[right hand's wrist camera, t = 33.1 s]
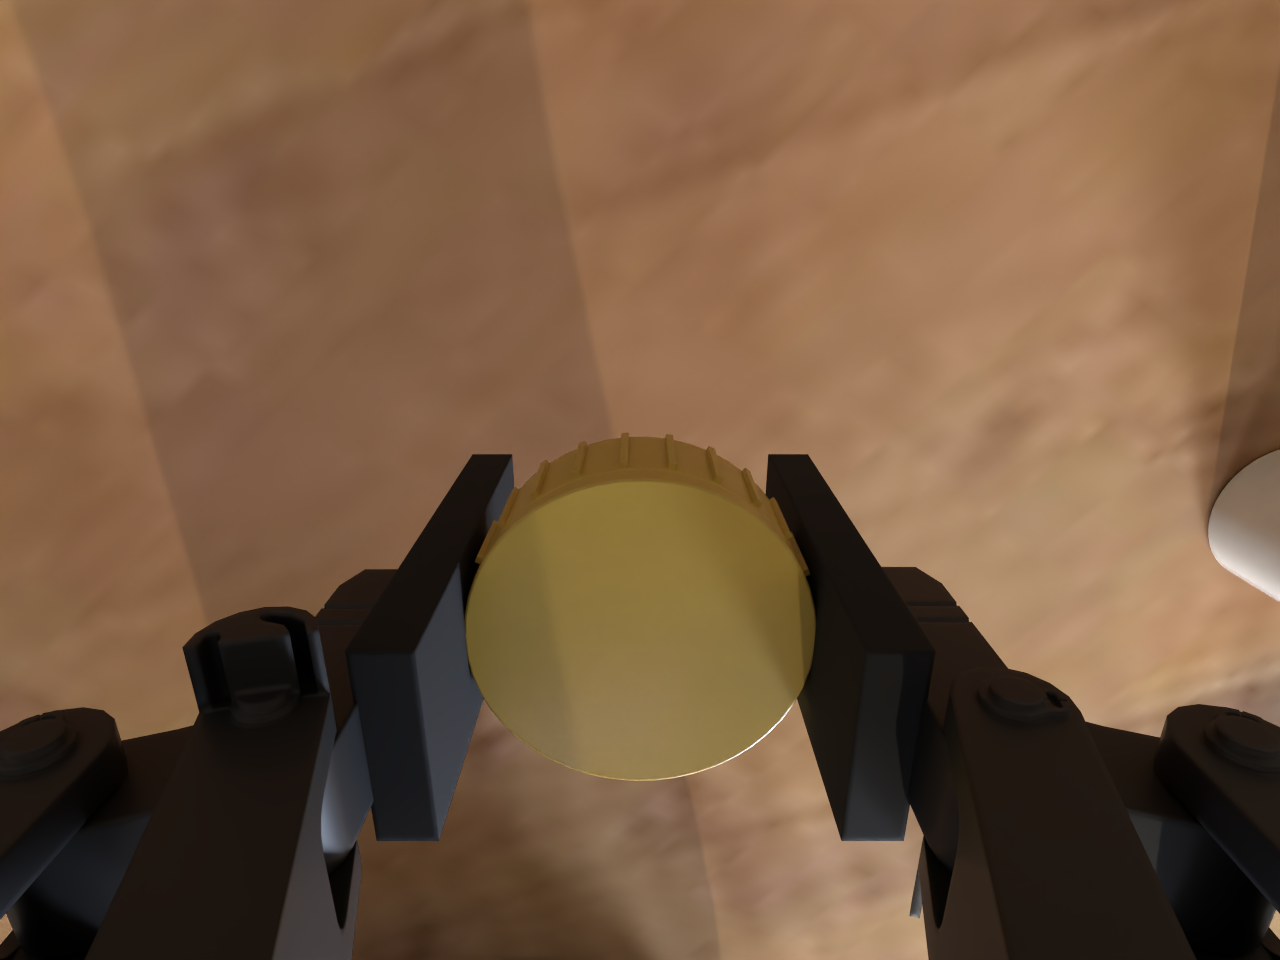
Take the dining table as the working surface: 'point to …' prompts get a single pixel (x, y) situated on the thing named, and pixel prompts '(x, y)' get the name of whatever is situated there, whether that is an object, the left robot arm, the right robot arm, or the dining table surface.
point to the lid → (640, 611)
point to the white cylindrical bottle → (1250, 525)
